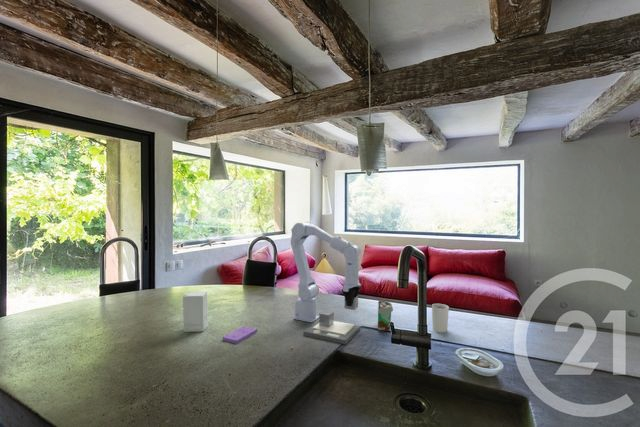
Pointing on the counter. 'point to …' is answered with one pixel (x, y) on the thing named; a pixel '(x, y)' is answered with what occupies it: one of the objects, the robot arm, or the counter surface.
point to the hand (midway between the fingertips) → (351, 304)
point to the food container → (384, 315)
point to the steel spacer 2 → (354, 304)
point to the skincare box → (195, 311)
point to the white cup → (440, 317)
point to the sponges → (239, 334)
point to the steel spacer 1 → (326, 318)
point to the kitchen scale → (333, 332)
